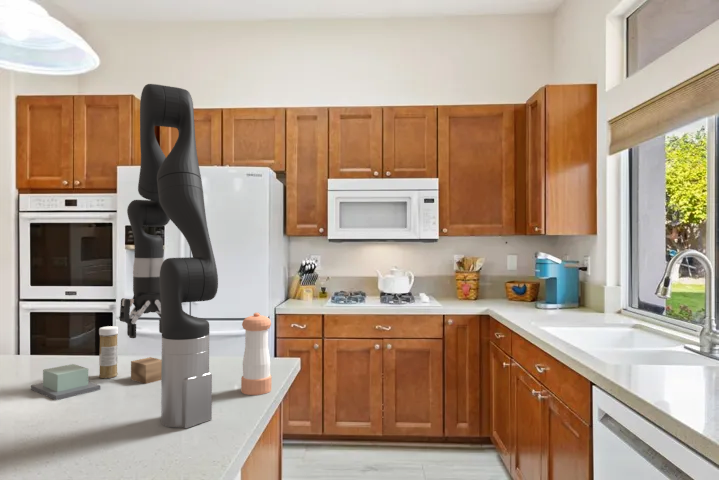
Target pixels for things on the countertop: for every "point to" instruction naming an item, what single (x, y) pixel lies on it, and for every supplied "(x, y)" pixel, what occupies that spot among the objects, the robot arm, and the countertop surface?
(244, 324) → the salt shaker
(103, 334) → the sprinkles bottle
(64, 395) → the build plate
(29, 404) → the countertop surface
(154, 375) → the walnut brick
